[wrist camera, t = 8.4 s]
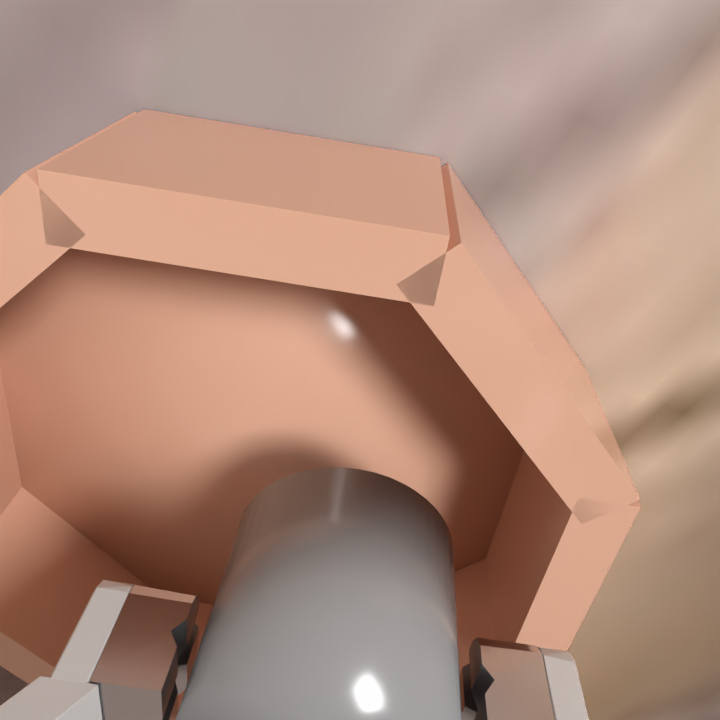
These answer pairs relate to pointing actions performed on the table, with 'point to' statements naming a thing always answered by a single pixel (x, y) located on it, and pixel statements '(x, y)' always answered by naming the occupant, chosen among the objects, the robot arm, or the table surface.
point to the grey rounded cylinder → (332, 607)
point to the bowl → (279, 376)
